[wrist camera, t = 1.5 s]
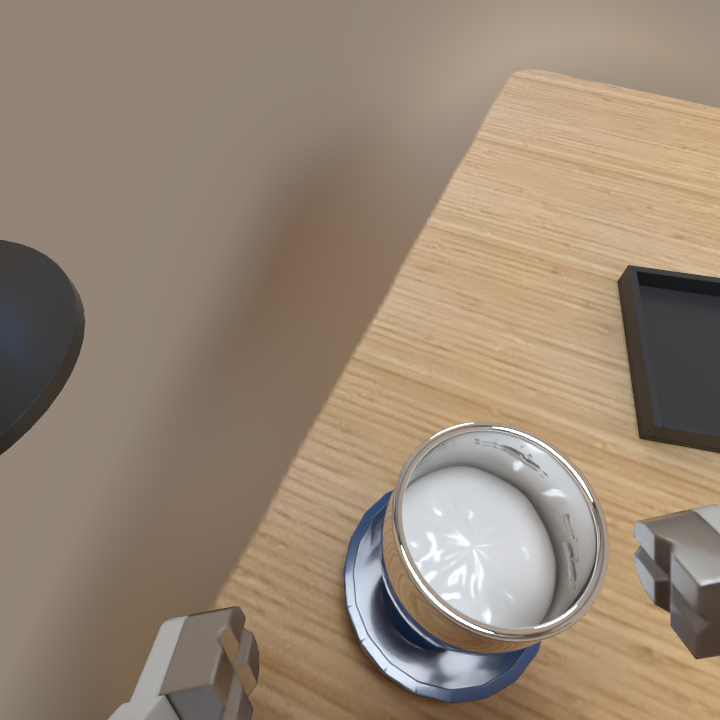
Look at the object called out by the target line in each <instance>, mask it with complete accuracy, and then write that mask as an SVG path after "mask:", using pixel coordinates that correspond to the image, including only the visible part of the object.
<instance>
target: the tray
mask: <svg viewBox="0 0 720 720" xmlns="http://www.w3.org/2000/svg"><path fill="white" fill-rule="evenodd" d="M618 284H619V291H620V298H621V305H622V313H623V320H624V327H625V334H626V341H627V348H628V355H629V362H630V369H631V376H632V383H633V390H634V398H635V405H636V412H637V419H638V426H639V433H640V438H643V439H648V440H654V441H659V442H665V443H671V444H676V445H682V446H687V447H693V448H698V449H704V450H709V451H715V452H720V278H716V277H709V276H702V275H695V274H688V273H681V272H673V271H666V270H659V269H652V268H645V267H638V266H631V265H628V266H627V268H626V269H625V271H624V272H623V274H622V275H621V277H620V279H619V280H618Z"/></svg>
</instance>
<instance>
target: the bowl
mask: <svg viewBox="0 0 720 720" xmlns="http://www.w3.org/2000/svg"><path fill="white" fill-rule="evenodd" d="M392 493H393V490H392V491H390V492H388V493H387V494H385V495H384V496H383V497H382V498H381V499H380V500H378V501H377V502H376V503H375V504H374V505H373V506H372V507H371V508H370V509H369V510H368V511H367V512H366V513H365V514H364V516H363V518H362V519H361V521H360V523H359V525H358V527H357V528H356V530H355V532H354V534H353V536H352V537H351V540H350V543H349V548H348V553H347V558H346V562H345V567H344V584H345V596H346V607H347V612H348V617H349V620H350V622H351V625H352V627H353V630H354V633H355V635H356V638H357V640H358V643H359V645H360V647H361V649H362V650H363V651H364V653H365V654H366V655H367V656H368V658H369V659H370V660H371V662H372V663H373V664H374V666H375V667H376V668H377V669H378V671H379V672H381V674H383V675H384V676H386V677H387V678H388V679H390V680H391V681H393V682H394V683H396V684H397V685H399V686H400V687H402V688H403V689H405V690H406V691H408V692H411V693H413V694H416V695H419V696H423V697H427V698H431V699H435V700H439V701H443V702H447V703H459V702H466V701H474V700H481V699H486V698H489V697H490V696H492V695H494V694H495V693H497V692H499V691H500V690H502V689H504V688H505V687H507V686H509V685H510V684H512V683H514V682H515V681H516V680H518V678H519V677H520V676H521V674H522V673H523V672H524V670H525V669H526V668H527V666H528V665H529V664H530V662H531V661H532V660H533V658H534V657H535V656H536V654H537V652H538V651H539V647H540V644H541V641H540V642H538V643H536V644H534V645H532V646H529V647H527V648H525V649H522V650H519V651H515V652H511V653H508V654H503V655H498V656H467V655H461V654H457V653H453V652H450V651H448V652H431V651H426V650H423V649H420V648H418V647H416V646H414V645H412V644H411V643H409V642H408V641H406V640H405V639H404V638H403V637H402V636H401V635H400V634H399V633H398V632H397V631H396V630H395V628H394V627H393V625H392V624H391V622H390V620H389V618H388V616H387V614H386V612H385V609H384V606H383V602H382V597H381V579H382V571H381V565H380V534H381V527H382V523H383V519H384V515H385V511H386V508H387V505H388V502H389V500H390V497H391V495H392Z"/></svg>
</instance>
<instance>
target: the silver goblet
mask: <svg viewBox="0 0 720 720" xmlns="http://www.w3.org/2000/svg"><path fill="white" fill-rule="evenodd" d="M609 556H610V544H609V534H608V528H607V524H606V520H605V516H604V513H603V510H602V507H601V505H600V503H599V500H598V498H597V496H596V494H595V492H594V490H593V489H592V487H591V485H590V484H589V482H588V481H587V479H586V478H585V476H584V475H583V474H582V472H581V471H580V470H579V469H578V468H577V466H576V465H575V464H574V463H573V462H572V461H571V460H570V459H569V458H568V457H567V456H566V455H565V454H564V453H562V452H561V451H560V450H559V449H557V448H556V447H555V446H553V445H552V444H551V443H549V442H548V441H546V440H544V439H543V438H541V437H539V436H537V435H535V434H533V433H531V432H529V431H527V430H524V429H522V428H519V427H516V426H512V425H508V424H504V423H498V422H485V421H480V422H468V423H462V424H458V425H454V426H451V427H449V428H446V429H444V430H442V431H440V432H438V433H436V434H434V435H433V436H431V437H430V438H428V439H427V440H426V441H424V442H423V443H422V444H421V445H420V446H419V447H418V448H417V449H416V450H415V451H414V452H413V453H412V454H411V456H410V457H409V458H408V460H407V461H406V463H405V465H404V466H403V468H402V470H401V472H400V474H399V477H398V479H397V482H396V486H395V488H394V490H393V493H392V495H391V497H390V500H389V502H388V505H387V508H386V511H385V515H384V519H383V523H382V527H381V534H380V565H381V571H382V579H381V597H382V602H383V606H384V609H385V612H386V614H387V616H388V618H389V620H390V622H391V624H392V625H393V627H394V628H395V630H396V631H397V632H398V633H399V634H400V635H401V636H402V637H403V638H404V639H405V640H406V641H408V642H409V643H411V644H412V645H414V646H416V647H418V648H420V649H423V650H426V651H431V652H448V651H450V652H453V653H457V654H461V655H467V656H498V655H503V654H508V653H511V652H515V651H519V650H522V649H525V648H527V647H529V646H532V645H534V644H536V643H538V642H540V641H542V640H544V639H547V638H550V637H553V636H555V635H558V634H560V633H562V632H564V631H565V630H567V629H569V628H570V627H572V626H573V625H574V624H576V623H577V622H578V621H579V620H581V619H582V618H583V617H584V616H585V615H586V613H587V612H588V611H589V610H590V609H591V607H592V606H593V604H594V603H595V601H596V600H597V598H598V596H599V594H600V592H601V590H602V588H603V585H604V583H605V579H606V576H607V572H608V566H609Z"/></svg>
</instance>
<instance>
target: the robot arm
mask: <svg viewBox="0 0 720 720" xmlns="http://www.w3.org/2000/svg"><path fill="white" fill-rule="evenodd" d="M634 537H635V538H636V539H637V541H638V542H639V543H640V544H641V546H640V547H639V549H638V550H637V551H636V553H635V567H636V570H637V573H638V576H639V579H640V582H641V583H642V585H643V587H644V589H645V591H646V593H647V594H648V595H649V597H650V598H651V600H652V601H653V602H654V604H655V605H657V606H659V607H661V608H662V609H664V610H666V611H668V612H670V613H671V627H672V628H673V630H674V631H675V632H676V634H677V635H678V636H679V638H680V639H681V640H682V642H683V643H684V644H685V646H686V647H687V648H688V650H689V651H690V652H691V654H692V655H693V656H694V658H695V659H702V658H708V657H714V656H720V506H719V505H717V504H713V505H708V506H703V507H699V508H694V509H690V510H688V511H686V510H685V511H680V512H676V513H671V514H667V515H662V516H658V517H653V518H649V519H644V520H640V521H637V522H636V524H635V526H634ZM245 619H246V618H245V616H244V614H243V612H242V610H241V608H240V607H236V606H235V607H229V608H224V609H218V610H213V611H207V612H202V613H196V614H191V615H188V616H182V617H177V618H171V619H167V620H166V621H165V622H164V623H163V624H162V625H161V627H160V629H159V632H158V634H157V636H156V639H155V641H154V644H153V646H152V649H151V651H150V653H149V656H148V658H147V661H146V663H145V666H144V668H143V671H142V673H141V675H140V678H139V680H138V683H137V685H136V688H135V690H134V693H133V695H132V697H131V700H130V702H127V703H123V704H121V706H120V707H119V708H118V709H117V710H116V711H115V712H114V713H113V714H112V715H111V716H110V718H109V719H108V720H251V717H252V711H253V708H252V706H251V703H250V701H249V699H248V696H249V695H250V694H251V692H252V691H253V689H254V688H255V687H256V685H257V681H258V674H259V651H258V647H257V643H256V640H255V638H254V635H253V633H252V632H250V631H248V630H246V629H245V628H244V623H245Z"/></svg>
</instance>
